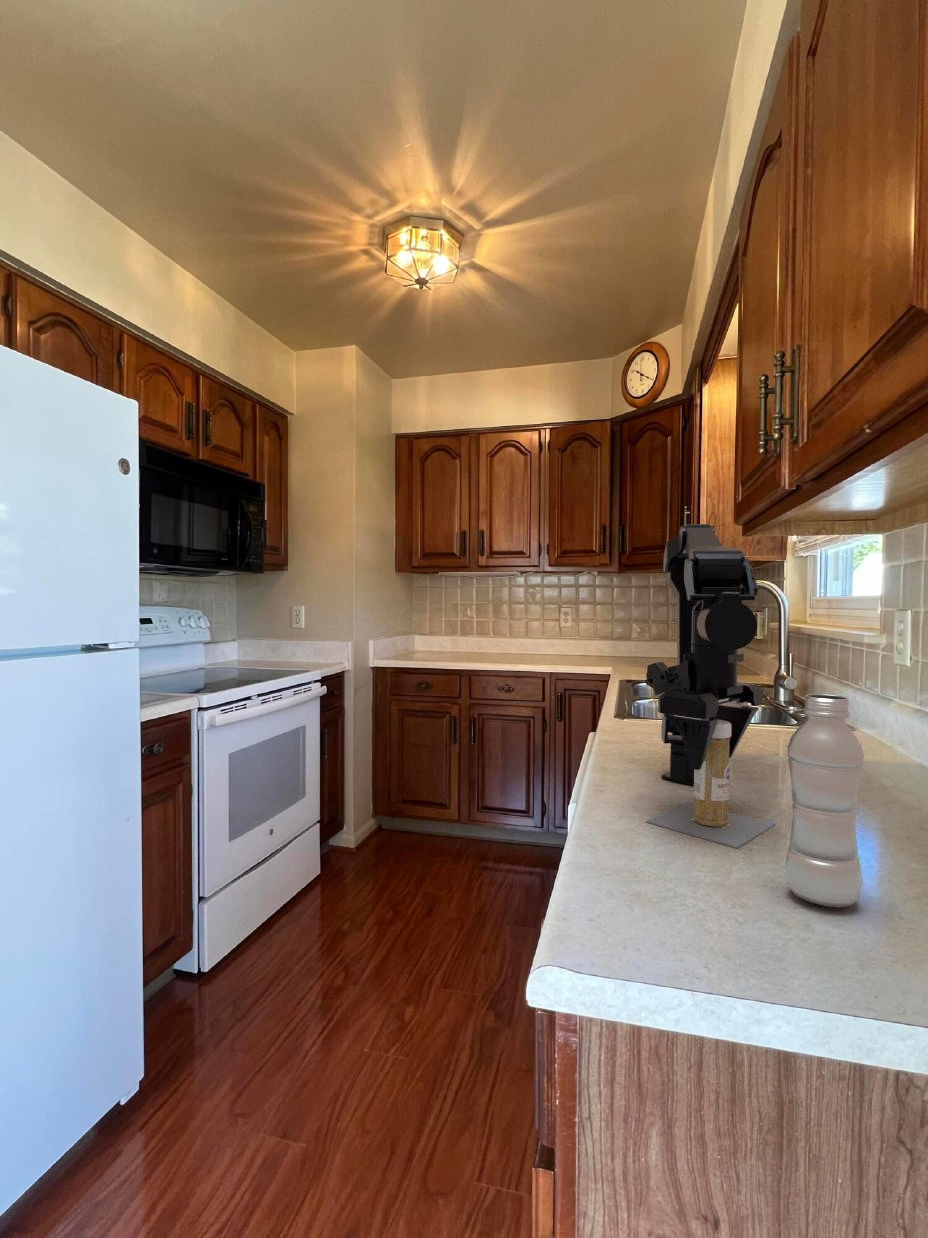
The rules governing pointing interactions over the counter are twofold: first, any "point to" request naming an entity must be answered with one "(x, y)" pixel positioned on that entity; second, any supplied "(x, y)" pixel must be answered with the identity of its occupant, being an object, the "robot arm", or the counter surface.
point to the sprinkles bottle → (714, 780)
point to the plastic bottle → (824, 805)
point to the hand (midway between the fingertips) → (711, 763)
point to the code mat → (730, 835)
